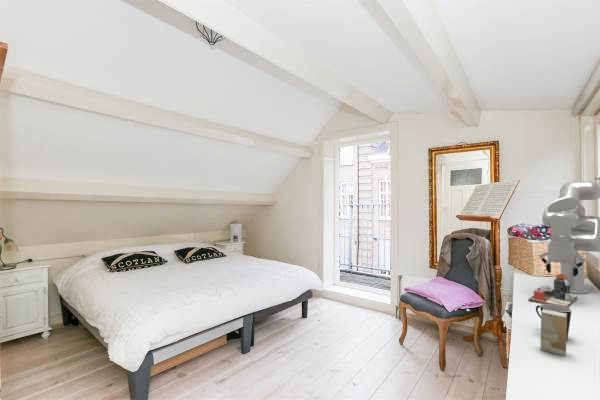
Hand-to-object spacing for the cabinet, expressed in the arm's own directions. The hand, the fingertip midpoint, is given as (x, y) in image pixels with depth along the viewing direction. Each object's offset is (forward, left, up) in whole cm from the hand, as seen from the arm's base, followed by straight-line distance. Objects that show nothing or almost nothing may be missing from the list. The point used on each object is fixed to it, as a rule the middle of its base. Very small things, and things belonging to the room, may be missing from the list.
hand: (561, 274), depth 151 cm
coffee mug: (+53, +6, -13) cm, 55 cm away
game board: (+1, -3, -13) cm, 13 cm away
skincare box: (+69, +9, -13) cm, 71 cm away
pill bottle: (+1, 0, -12) cm, 12 cm away
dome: (-5, -7, -12) cm, 15 cm away
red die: (+8, -7, -13) cm, 17 cm away
